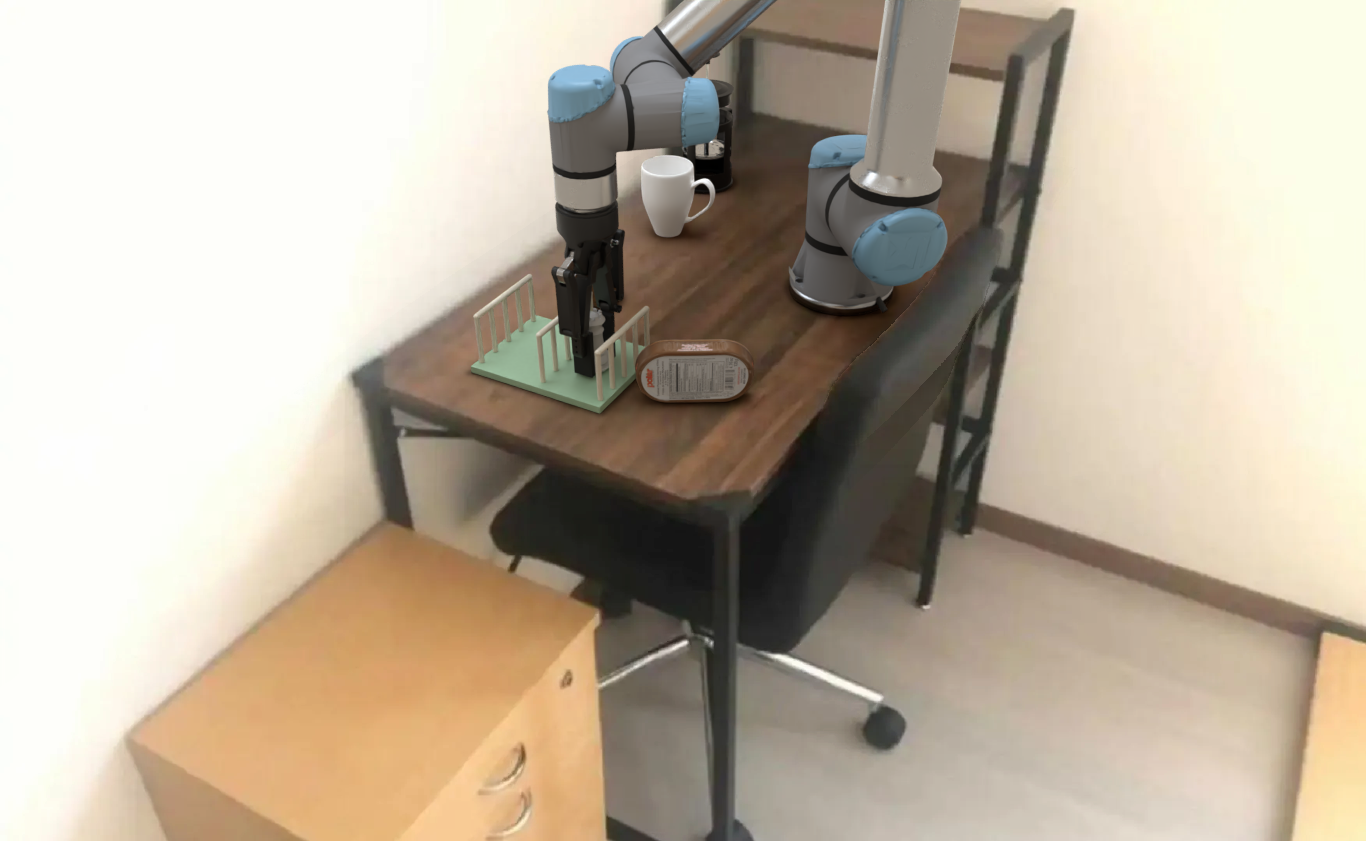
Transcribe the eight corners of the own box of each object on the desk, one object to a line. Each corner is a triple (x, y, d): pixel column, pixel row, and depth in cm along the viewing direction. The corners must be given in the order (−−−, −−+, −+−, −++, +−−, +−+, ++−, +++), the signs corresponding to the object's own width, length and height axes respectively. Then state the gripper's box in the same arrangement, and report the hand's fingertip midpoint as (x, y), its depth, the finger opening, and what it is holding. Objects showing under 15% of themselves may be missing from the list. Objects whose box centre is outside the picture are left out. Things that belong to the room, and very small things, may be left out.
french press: (709, 200, 191) (711, 66, 178) (666, 186, 196) (664, 54, 182) (748, 177, 199) (753, 47, 185) (705, 164, 203) (707, 36, 190)
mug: (634, 238, 180) (632, 171, 173) (653, 216, 186) (652, 151, 179) (704, 250, 176) (705, 183, 170) (722, 228, 183) (723, 162, 176)
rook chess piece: (573, 360, 149) (570, 307, 144) (605, 353, 150) (603, 301, 145) (583, 377, 145) (580, 324, 141) (616, 371, 147) (614, 318, 142)
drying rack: (658, 356, 152) (657, 302, 147) (599, 413, 141) (596, 357, 136) (535, 320, 159) (530, 268, 154) (471, 372, 149) (463, 317, 144)
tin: (752, 390, 145) (754, 335, 140) (754, 404, 143) (756, 348, 138) (635, 393, 145) (634, 337, 140) (635, 407, 142) (634, 351, 137)
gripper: (598, 168, 141) (605, 326, 155) (518, 222, 129) (533, 389, 143) (650, 179, 138) (653, 340, 152) (573, 236, 126) (583, 406, 140)
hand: (595, 363), depth 147 cm, fingers closed on rook chess piece, 4 cm apart
